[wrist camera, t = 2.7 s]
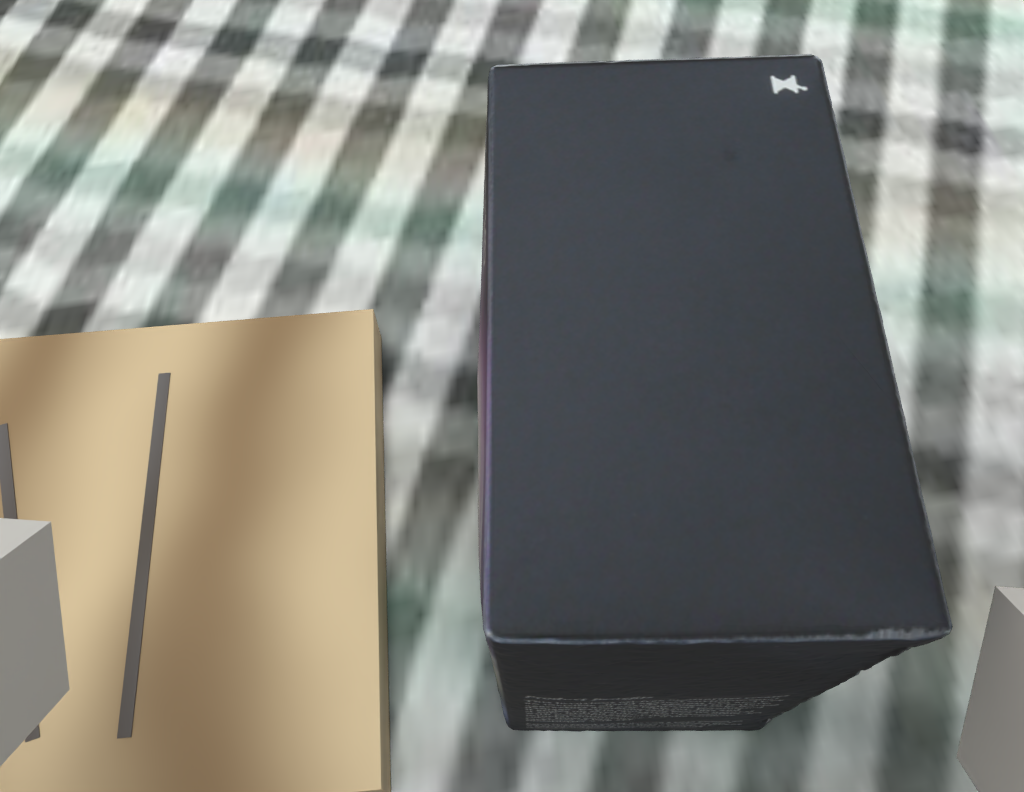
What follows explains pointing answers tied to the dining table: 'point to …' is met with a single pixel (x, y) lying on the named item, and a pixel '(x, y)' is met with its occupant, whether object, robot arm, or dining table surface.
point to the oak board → (207, 553)
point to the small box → (685, 402)
